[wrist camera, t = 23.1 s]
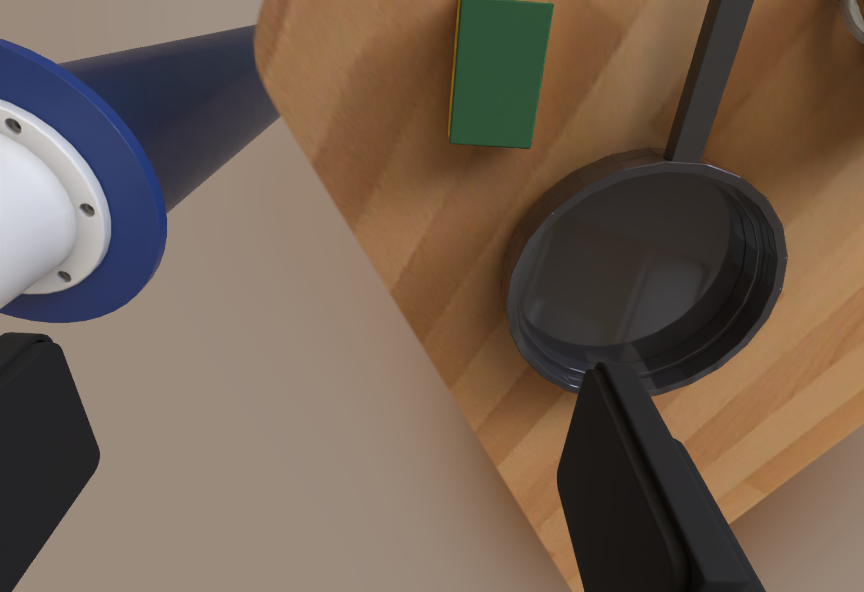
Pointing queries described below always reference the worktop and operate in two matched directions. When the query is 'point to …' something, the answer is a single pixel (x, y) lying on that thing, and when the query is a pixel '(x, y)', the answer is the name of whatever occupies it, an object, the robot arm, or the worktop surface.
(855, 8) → the ceramic mug
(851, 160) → the worktop surface
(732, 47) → the pan handle
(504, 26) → the sponge
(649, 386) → the pan
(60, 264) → the robot arm
